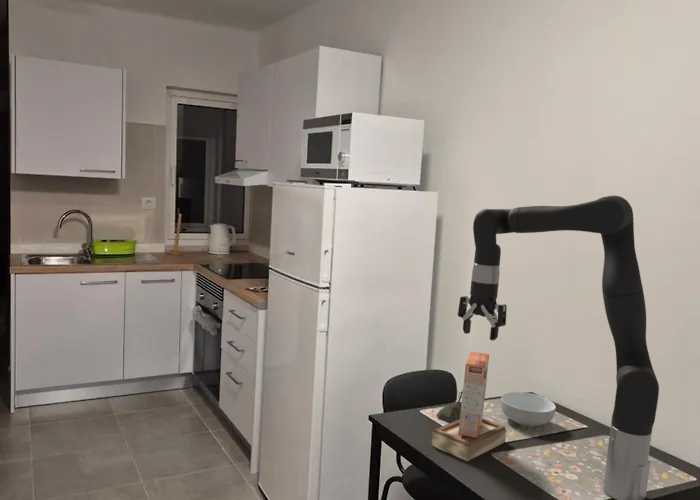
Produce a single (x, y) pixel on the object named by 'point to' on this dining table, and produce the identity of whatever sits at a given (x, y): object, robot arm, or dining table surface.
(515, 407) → the cereal bowl
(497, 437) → the wooden box
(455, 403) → the sword in stone
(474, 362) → the cracker box
